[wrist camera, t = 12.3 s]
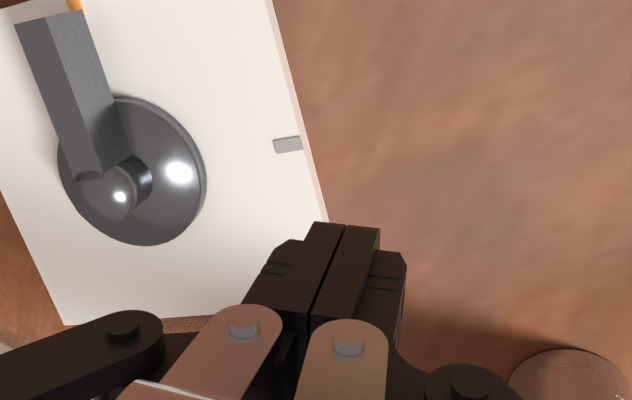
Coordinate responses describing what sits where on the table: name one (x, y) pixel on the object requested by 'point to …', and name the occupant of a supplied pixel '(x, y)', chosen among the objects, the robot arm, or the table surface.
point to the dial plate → (204, 127)
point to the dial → (112, 140)
